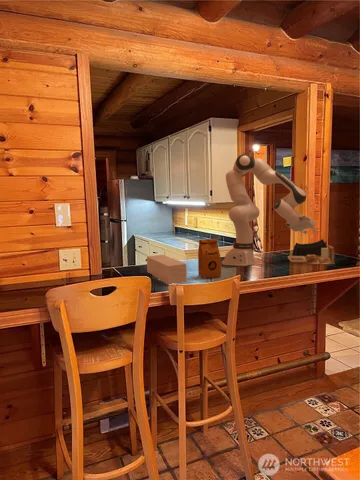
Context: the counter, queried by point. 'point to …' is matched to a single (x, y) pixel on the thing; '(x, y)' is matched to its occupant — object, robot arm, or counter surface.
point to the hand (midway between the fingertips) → (310, 232)
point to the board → (324, 252)
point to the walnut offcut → (311, 260)
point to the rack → (326, 260)
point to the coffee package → (209, 259)
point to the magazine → (308, 248)
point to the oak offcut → (311, 256)
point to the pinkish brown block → (167, 269)
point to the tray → (297, 260)
